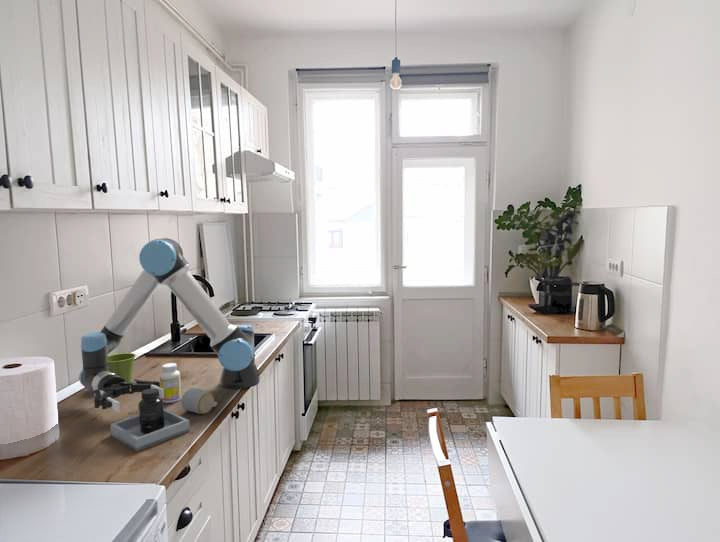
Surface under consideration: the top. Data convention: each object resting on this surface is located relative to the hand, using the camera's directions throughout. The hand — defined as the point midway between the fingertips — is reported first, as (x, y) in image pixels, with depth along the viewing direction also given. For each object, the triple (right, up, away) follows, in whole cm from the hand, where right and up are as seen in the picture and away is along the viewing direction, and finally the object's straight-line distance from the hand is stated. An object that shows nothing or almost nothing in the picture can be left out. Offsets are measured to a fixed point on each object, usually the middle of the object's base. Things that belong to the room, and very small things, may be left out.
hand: (141, 399), depth 142 cm
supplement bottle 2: (-1, -7, +25) cm, 26 cm away
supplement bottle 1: (+4, -9, -1) cm, 10 cm away
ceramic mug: (+13, -8, +16) cm, 22 cm away
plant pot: (-27, -6, +41) cm, 49 cm away
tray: (+3, -10, -1) cm, 10 cm away
